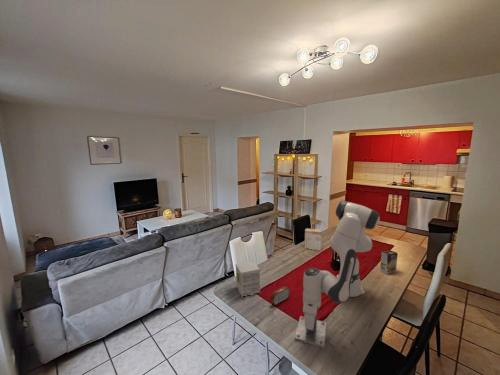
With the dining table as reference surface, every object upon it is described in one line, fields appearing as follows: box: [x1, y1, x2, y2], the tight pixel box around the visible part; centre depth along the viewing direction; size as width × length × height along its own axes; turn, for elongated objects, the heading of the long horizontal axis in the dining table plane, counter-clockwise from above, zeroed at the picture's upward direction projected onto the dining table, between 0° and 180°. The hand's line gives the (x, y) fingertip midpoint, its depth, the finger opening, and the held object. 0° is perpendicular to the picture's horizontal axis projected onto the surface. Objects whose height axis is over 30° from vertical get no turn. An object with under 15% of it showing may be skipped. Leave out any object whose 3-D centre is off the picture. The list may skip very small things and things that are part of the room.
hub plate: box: [294, 315, 327, 349], centre depth 115 cm, size 16×14×4 cm
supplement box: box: [235, 260, 261, 298], centre depth 151 cm, size 13×13×18 cm
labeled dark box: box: [306, 315, 318, 332], centre depth 115 cm, size 5×5×6 cm
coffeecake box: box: [304, 227, 323, 251], centre depth 214 cm, size 15×7×20 cm, turn 66°
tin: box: [270, 286, 291, 306], centre depth 139 cm, size 15×3×8 cm, turn 127°
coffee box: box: [379, 249, 398, 275], centre depth 170 cm, size 9×6×16 cm
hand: (311, 324), depth 115 cm, fingers closed on labeled dark box, 5 cm apart
